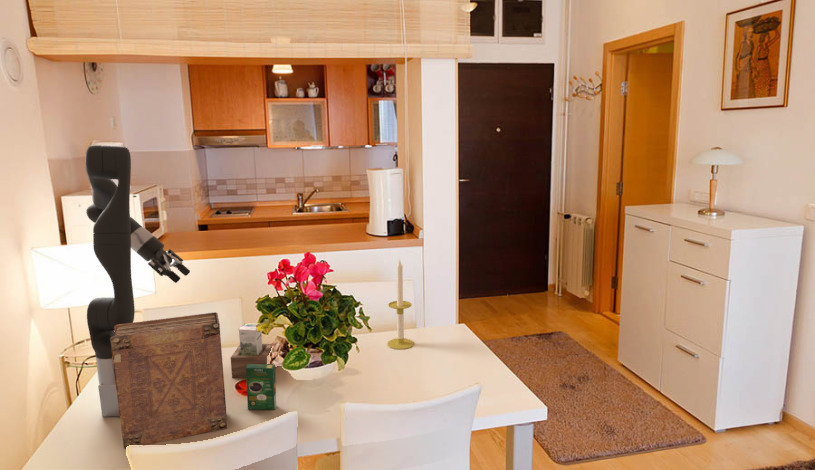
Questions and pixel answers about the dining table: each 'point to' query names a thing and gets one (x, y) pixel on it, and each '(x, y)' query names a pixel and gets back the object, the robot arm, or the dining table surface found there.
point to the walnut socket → (247, 360)
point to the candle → (400, 314)
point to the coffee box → (261, 386)
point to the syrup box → (250, 340)
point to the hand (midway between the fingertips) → (183, 277)
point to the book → (169, 378)
